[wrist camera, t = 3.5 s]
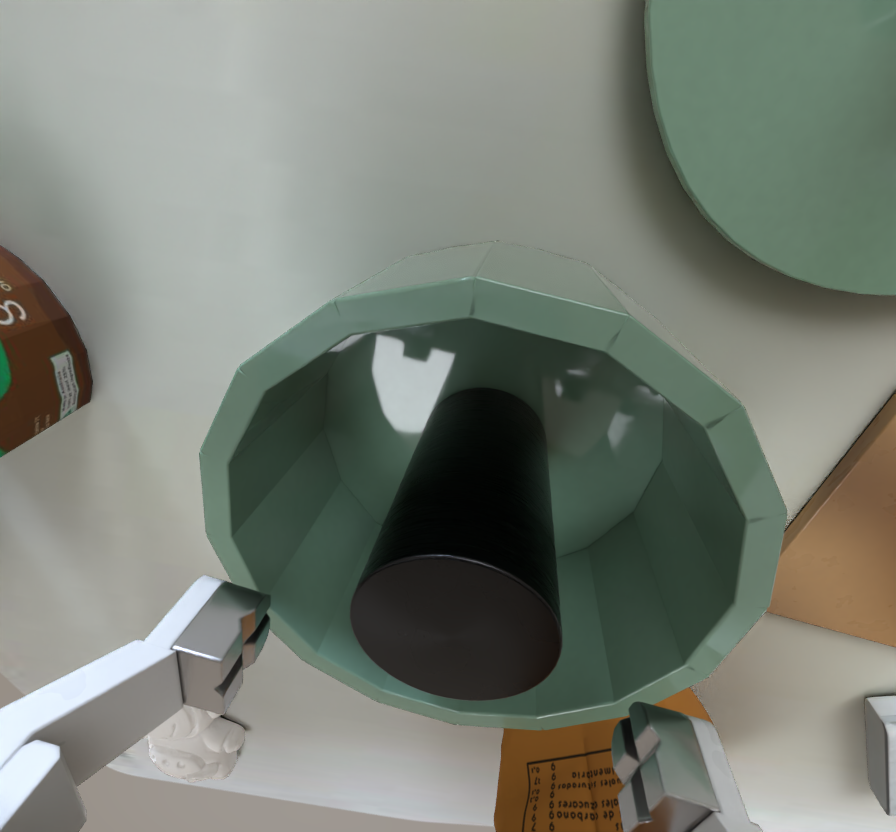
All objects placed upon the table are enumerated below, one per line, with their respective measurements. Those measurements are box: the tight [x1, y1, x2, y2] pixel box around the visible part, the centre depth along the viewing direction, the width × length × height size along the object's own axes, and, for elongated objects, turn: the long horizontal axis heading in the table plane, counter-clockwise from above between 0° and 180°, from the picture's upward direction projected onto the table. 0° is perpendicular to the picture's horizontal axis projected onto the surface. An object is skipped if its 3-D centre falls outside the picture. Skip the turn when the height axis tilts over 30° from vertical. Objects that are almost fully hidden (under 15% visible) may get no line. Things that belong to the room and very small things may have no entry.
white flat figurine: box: [142, 704, 245, 782], centre depth 31 cm, size 9×12×3 cm
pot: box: [199, 241, 787, 731], centre depth 15 cm, size 15×15×7 cm
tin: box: [350, 388, 563, 701], centre depth 13 cm, size 5×5×8 cm
